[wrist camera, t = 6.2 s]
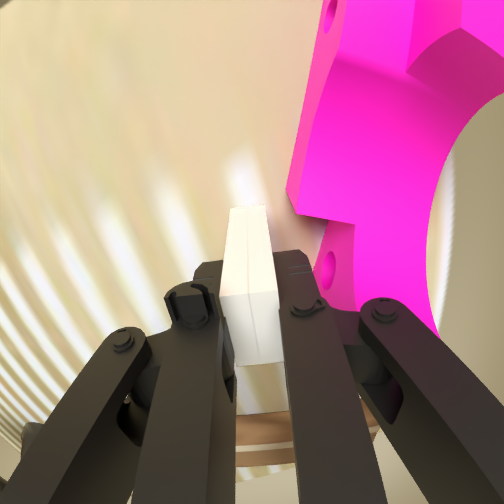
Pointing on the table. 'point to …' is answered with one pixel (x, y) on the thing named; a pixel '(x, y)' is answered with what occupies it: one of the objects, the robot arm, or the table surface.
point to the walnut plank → (273, 438)
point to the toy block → (387, 135)
